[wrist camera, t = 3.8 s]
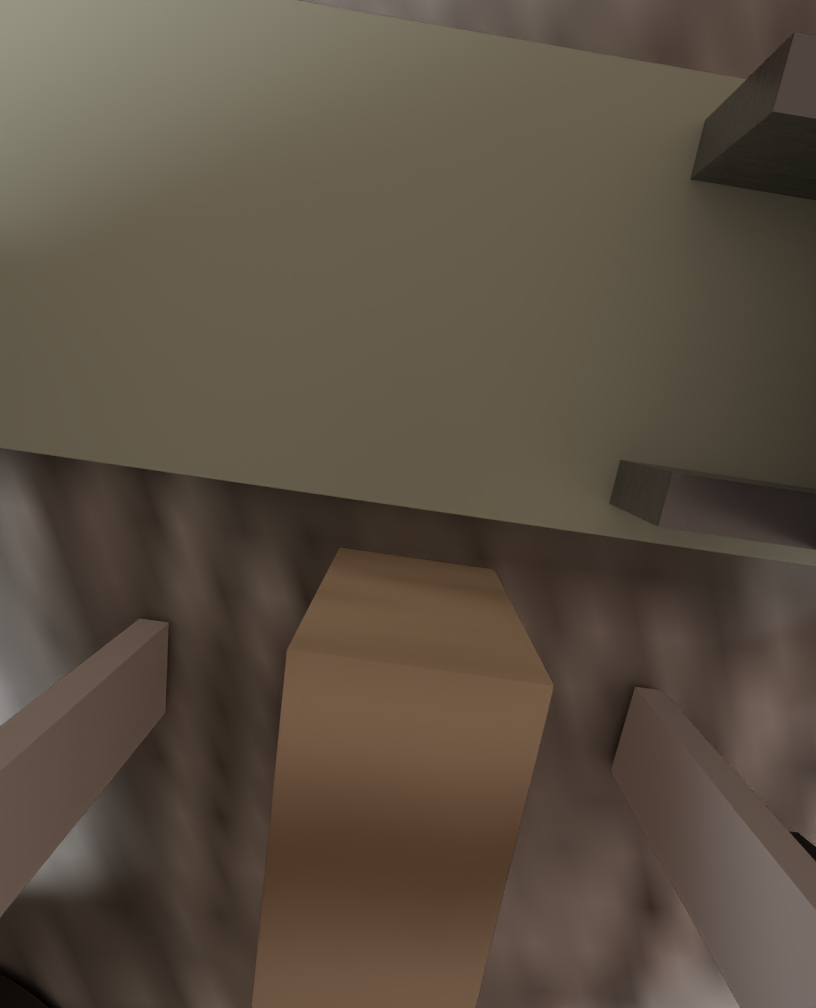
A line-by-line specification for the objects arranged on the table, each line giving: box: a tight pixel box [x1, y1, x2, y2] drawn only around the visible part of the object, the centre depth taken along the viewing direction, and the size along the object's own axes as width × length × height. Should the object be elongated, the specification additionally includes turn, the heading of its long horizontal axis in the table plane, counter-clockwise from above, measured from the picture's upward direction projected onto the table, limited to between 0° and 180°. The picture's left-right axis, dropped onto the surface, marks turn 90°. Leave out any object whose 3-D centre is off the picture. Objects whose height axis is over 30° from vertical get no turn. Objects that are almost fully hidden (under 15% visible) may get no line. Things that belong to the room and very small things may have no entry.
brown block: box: [252, 548, 554, 1008], centre depth 10 cm, size 8×4×5 cm, turn 172°
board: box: [0, 0, 816, 567], centre depth 10 cm, size 28×9×1 cm, turn 82°
